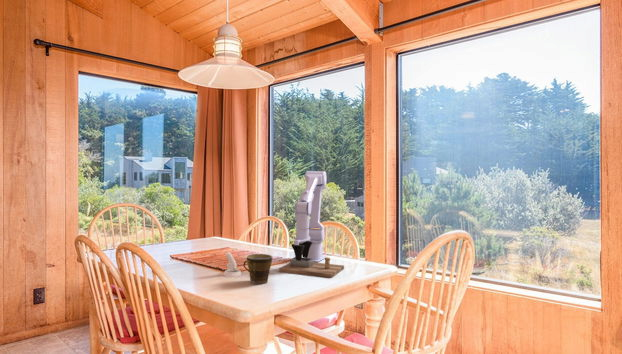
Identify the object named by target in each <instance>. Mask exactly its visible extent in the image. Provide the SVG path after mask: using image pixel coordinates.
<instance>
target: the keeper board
mask: <svg viewBox="0 0 622 354" xmlns="http://www.w3.org/2000/svg"><path fill="white" fill-rule="evenodd" d="M330 260H331V257H330V256H329V257H328V256H327V257H324V262H314V264H313V266H312V267H310V268H304V267H295V266H290V262H289V263H286V264H285V265H282V266H280V267H278V272H279V273H285V274H286V273H288V274H295V275H296V274H297V275H302V276H303V275H305V276H313V277H319V276H320V277H321V278H328V279H329V278H330V279H333V277H335V276H336V275H338V274H339V273H340V272H342V271H343V270H345V265H342V264H335V263H334V264H333V263H330Z"/></svg>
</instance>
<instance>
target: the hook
mask: <svg viewBox="0 0 622 354" xmlns="http://www.w3.org/2000/svg"><path fill="white" fill-rule="evenodd" d="M225 257H226V258H227V260H228V263H227V265H226V267H227V269H226V270H224V272H223V276H224V277H228V278H236V277H240V276H242V275H243V274H242V271H241V270H240V269H238V264H237V262H236V260H235V258H234V256H233V254H232V253H231V252H229V251H227V252H225Z"/></svg>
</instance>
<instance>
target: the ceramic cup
mask: <svg viewBox="0 0 622 354" xmlns="http://www.w3.org/2000/svg"><path fill="white" fill-rule="evenodd" d="M272 263H273V255H270V254H268V253H267V254H265V253H254V254H249V255H247V256H246V260H244V262H243V268H244V269H246V270H247V272H248V274H249V280H250V284H253V285H264V284H267V283H268V281H269V275H270V269H271V267H272ZM246 264H247V267H246Z"/></svg>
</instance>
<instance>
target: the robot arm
mask: <svg viewBox="0 0 622 354" xmlns="http://www.w3.org/2000/svg"><path fill="white" fill-rule="evenodd" d="M327 179H328V177H327V172H326V171H324V170H323V171H322V170H321V171H319V170H312V171H311V170H306V172H305V174H304V180H305V183H306V186H305V190H302V192H301V195H300V197H299V200H298V201H297V202H296V203H295V204H294V213H295V218H296V219H295V220H296V221H295V222H296V224H295V225H296V227H295V228H296V229H295V237H293V243H292V244H291V248H292V250H293V252H294V257H296V261H301V259H302V258H311V259H314V262H316V263H320V262H321V261H323V260H325V257H324V244H323V242H324V240H325V237H326V236H325V235H326V234H325V232H326V231H325V228H326V227H325V226H324V225H323V224H322V223H321V222H320V221H321V207H322V196H323V195H322V194H323V190H324V189H326V186H327Z"/></svg>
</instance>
